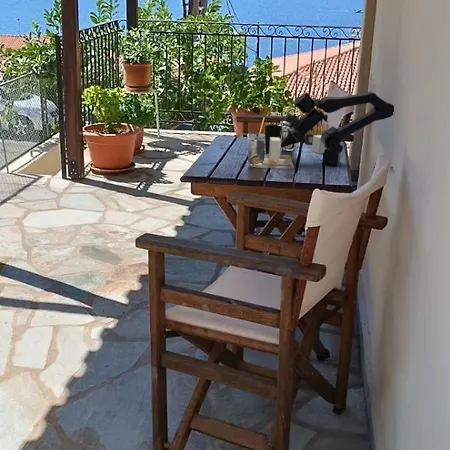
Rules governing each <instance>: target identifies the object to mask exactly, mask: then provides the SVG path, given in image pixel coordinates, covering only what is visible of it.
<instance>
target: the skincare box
mask: <svg viewBox="0 0 450 450" xmlns="http://www.w3.org/2000/svg"><path fill="white" fill-rule="evenodd" d="M321 136H322V135H314V136H313V144H312V145H311V152H313V153H316V154H319V155H321V154H322V155H323V153H324V152H325V149H326V148H325V146H324V144H323V143H322V142H321Z"/></svg>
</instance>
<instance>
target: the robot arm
mask: <svg viewBox="0 0 450 450" xmlns="http://www.w3.org/2000/svg"><path fill="white" fill-rule="evenodd" d="M293 104H294V106H296V108H297V109H298V110H300V112H301V113H302V114H305V116H301V117H298V116H297V115H295V114H291V112H290V113H289V112H287V113H286V115H285V117H284V121H285V122H286V123H288V124H287V127H288V129H287V135H286V137H285V138H284V140H283V141H281V147H280V148H286V147H288V146H291V145H294V144H300V145H301V146H302V145H305V141H306V133H308V132H309V131H310V130H311V131H312V130H313V127H315V125H317V126H318V125H319V122H320V121H321V122H322V121H324V122H325V123H327V121H328V119H329V118H328V117H329V116H328V114H332V113H334V112H337V111H339V110H341V109H343V108H346V107H353V106H359V105H363V104H370V105H371V106H373V107H372V108H371V109H370V110H369V111H367V113H365V114H362V115H361V116H359V117H357V118H355V119H353V120H352V121H350V122H348V123H346V124H345V125H342V126H341V127H337V128H336V127H335V126H331V127H328V130H324V131H325V132H324V133H323V134H322V136H321V142H322V143H323V144H324V146H325V148H326V149H325V152H324V153H323V154H322V160H321V161H322V163H321V165H326V166H330V167H338V166H340V165H341V164H342V162H341V158H342V156H341V155H342V154H341V153H342V151H343V149H344V147H343V145H341V143H342V142H343V141H344V140H345V139H346V137H348V136H350V135H352V134H354V133H356V132H358V131H359V130H361V129H362V128H365V127H367V126H368V125H370V124H372V123H374V122H376V121H382V120H385V119H388V118H392V116H394V114H393V112H394V107H395V106H394V104H393V103H390V102H389V101H386V100H384V99H382V98H380V97H379V96H378V95H377V94H376V92H372V91H367V92H364V93H357V94H352V95H347V96H342V97H341V96H340V97H338V96H323V97H321V99H317V100H314V99H313V98H312V97H311V95H310V94H309V93H308V92H305V93H303V94H301V95H299V96H298V97H297V98H295V100H294V102H293ZM316 108H318V109H316ZM394 113H395V112H394ZM289 128H290V129H289Z"/></svg>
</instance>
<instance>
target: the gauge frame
mask: <svg viewBox="0 0 450 450" xmlns="http://www.w3.org/2000/svg"><path fill="white" fill-rule="evenodd" d="M256 142H257V148H256V147H255V154H256V153H257V157H259V158H260V159H261V160H262V163H258V164H255V163H254V162H253V167H254V168H260V169H261V168H262V169H263V168H264V169H265V168H266V169H289V170H290V169H292V170H294V169H295V166H294V163H293V161H292V155H289V154H288V155H287V154H286V155H285V154H280V161H279V162H277V163H274V162H270V161H269V154H267V155H266V156H267V157H265V139H264V136H256ZM263 158H264V161H263Z"/></svg>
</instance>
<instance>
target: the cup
mask: <svg viewBox="0 0 450 450" xmlns="http://www.w3.org/2000/svg"><path fill="white" fill-rule="evenodd" d="M282 130H283V126H282V125H278V124H265V125H264V143H265V149H264V153H265V152H266V153H267V155H269V147H270V137H277V138H280V139H281V137H282ZM266 153H265V154H266Z"/></svg>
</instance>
